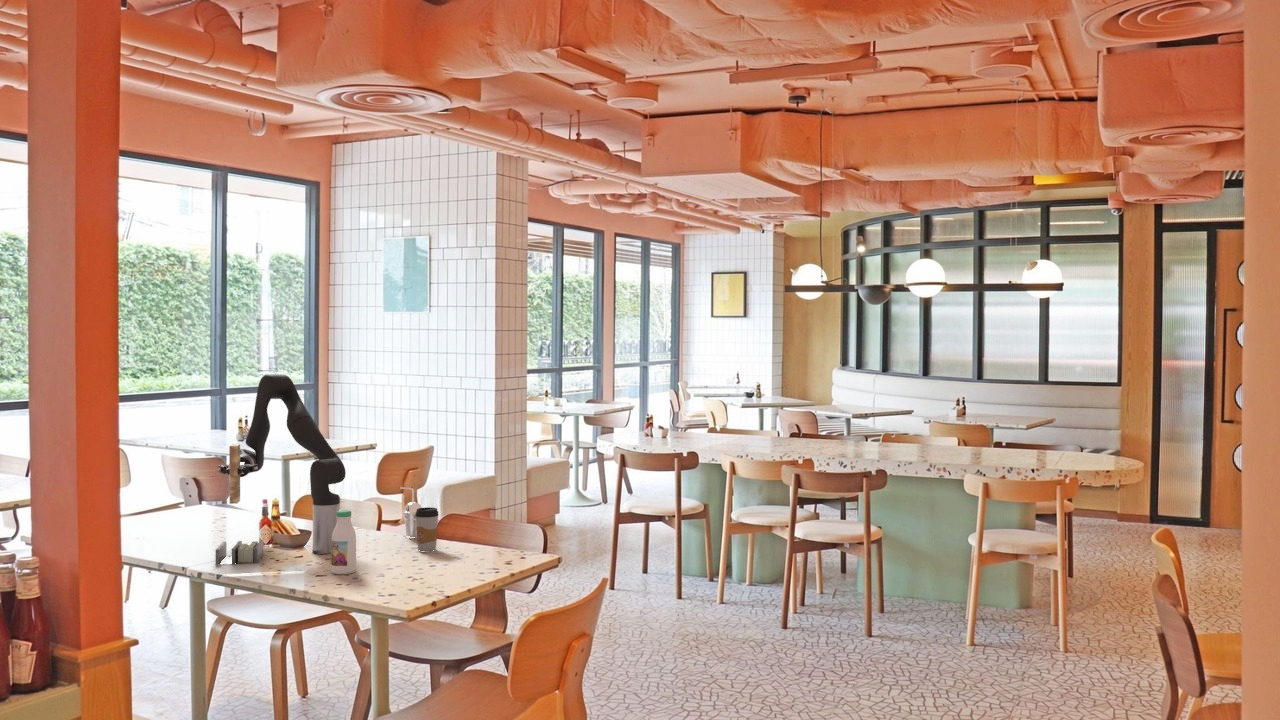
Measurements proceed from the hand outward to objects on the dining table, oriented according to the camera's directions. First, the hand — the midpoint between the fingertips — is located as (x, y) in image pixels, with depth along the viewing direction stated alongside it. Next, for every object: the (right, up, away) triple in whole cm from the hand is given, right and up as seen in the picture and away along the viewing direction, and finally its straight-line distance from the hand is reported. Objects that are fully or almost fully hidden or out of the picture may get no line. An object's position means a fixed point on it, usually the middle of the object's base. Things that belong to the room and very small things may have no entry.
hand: (233, 471), depth 336 cm
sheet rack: (+5, -30, -8) cm, 31 cm away
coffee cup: (+64, -30, +14) cm, 72 cm away
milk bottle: (+45, -31, -21) cm, 58 cm away
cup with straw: (+53, -30, +37) cm, 71 cm away
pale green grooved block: (+8, -29, -7) cm, 31 cm away
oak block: (-1, -11, +3) cm, 11 cm away
